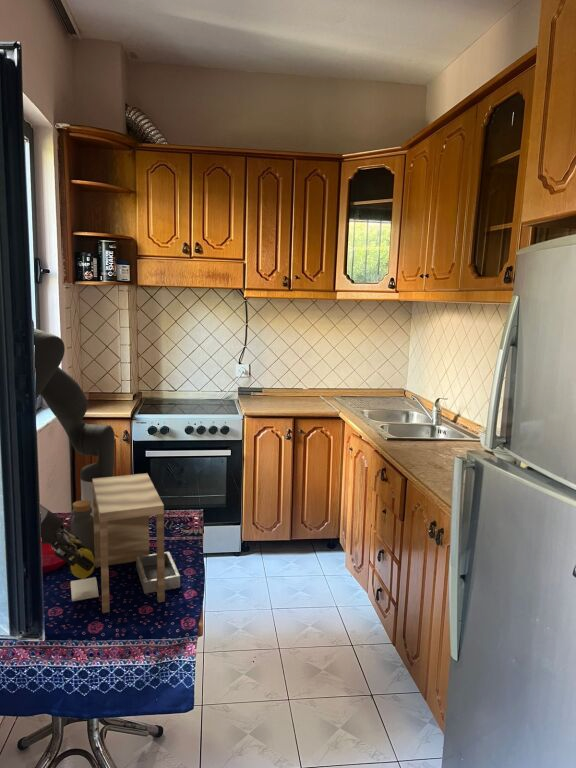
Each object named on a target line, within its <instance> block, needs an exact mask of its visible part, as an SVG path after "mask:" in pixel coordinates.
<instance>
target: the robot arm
mask: <svg viewBox="0 0 576 768" xmlns="http://www.w3.org/2000/svg"><path fill="white" fill-rule="evenodd" d="M33 328H34V327H33ZM34 345H35V368H36V400H37V399H38V398H39V396H41V397H42V399H43V400H44V402H45V404H46V405H47V406H48V408H49V409H50V411H51V412H52V414H53V416H55V417H56V418H57V420H58V422H59V423H60V425H61V426H62V428H63V430H64V431H65V433H66V435H67V437H68V440H69V441H70V443H71V445H72V448H73V449H74V451H76V453H77V454H79V455H82V456H89V457H90V456H93V457H94V456H95V457H98V458H97V462H94V463H91V464H87V465H85V466H84V467H82V468H81V469H80V494H81V495H80V498H81V500H87V501H90V502H91V506H90V507H91V508H92V513H91V514H90V515H92V516H93V518H94V514H93V483H92V479H94V478H104V477H114V467H115V443H116V441H115V439H116V438H115V431H114V428H113V427H112V426H111V425H109V424H94V423H86V422H85V421H84V420H83V419H84V417H85V415H86V413H87V410H88V405H89V404H88V399H87V396H86V395H85V393H84V391H83V390H82V387H81V386H80V385H79V383H78V382H77V381H76V380H75V379H74V378H73V377H72V376H71V375H69V374H68V373H67V372H66V371H64V370H63V369H62V368H60V365H61V363H62V362H63V358H64V356H65V351H66V348H65V343H64V341H63V339H62V338H61V337H60V336H57V335H55V334H53V333H51V332H50V333H49V332H47V331H43V330H41V329H37V328H34ZM81 500H80V501H81ZM40 512H41V537H42V546H41V547H43V546H45V545H46V544H49V545H50V547H51V549H52V550H54V551H53V555H54V556H55V557H57V558H58V559H61V560H62V561H64V562H65V563H67V564H68V565H70V566H71V565H72V566H74V565H75V564H78V565H79V566H81V567H82V568H83V569H85V570H86V571H89V570H90V569H91V568H92V567H93V566H94V563H93V562H92V561H91V560H89V559H88V558H87V557H85V556H84V555H82V553H80V552H79V551H78V550H79V549H81V548H84V549H88V548H86V547H85V546H84V545H82V544H81V541H79V537H78V536H76V535H75V534H74V533H73V532H71V529H69V528H68V527H66V526H65V525H64V524H63V523H62V522H63V521H62V519H61V518H60V517H59V516H57V515H56V514H55V513H53V512H52V511H50V509H48V508H46V507H45V506H44V505H43V504H41V503H40ZM88 550H89V549H88ZM90 551H91V550H90ZM91 552H92V551H91ZM72 556H74V558H73V557H72ZM94 567H95V566H94Z"/></svg>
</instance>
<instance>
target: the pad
mask: <svg viewBox="0 0 576 768" xmlns="http://www.w3.org/2000/svg"><path fill="white" fill-rule="evenodd" d="M70 593H71V602H76V601H83V600H87V599H93V598H98V597H100V596H99V589H98V581H97V577H96V576H94V577H89V578H87V577H86V578H85V579H81V578H80V579H77V580H76V579H75V580H70Z"/></svg>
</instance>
